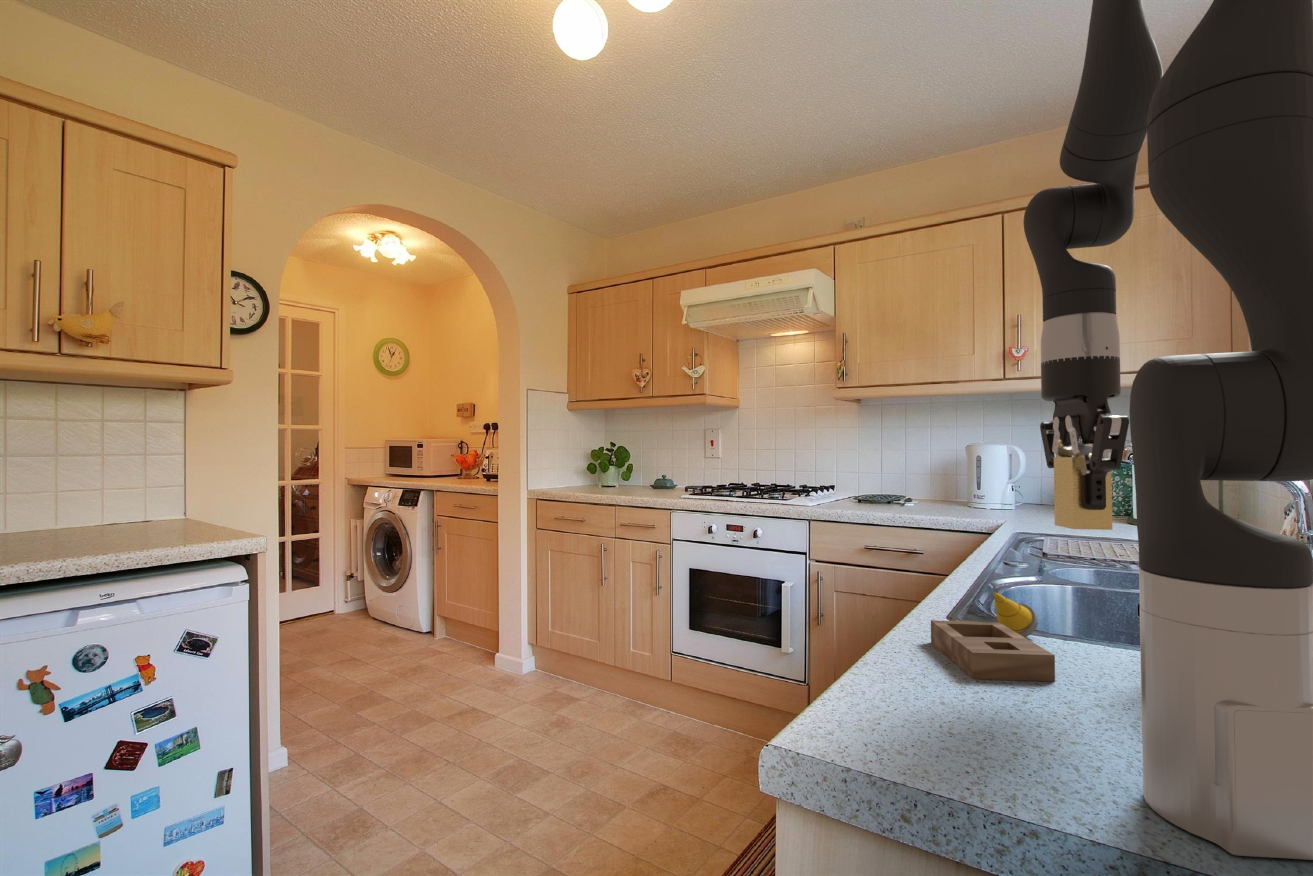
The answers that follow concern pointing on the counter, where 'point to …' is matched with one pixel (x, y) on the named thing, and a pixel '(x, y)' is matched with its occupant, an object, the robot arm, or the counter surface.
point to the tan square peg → (1077, 498)
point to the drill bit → (1015, 615)
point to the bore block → (992, 651)
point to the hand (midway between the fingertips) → (1081, 507)
